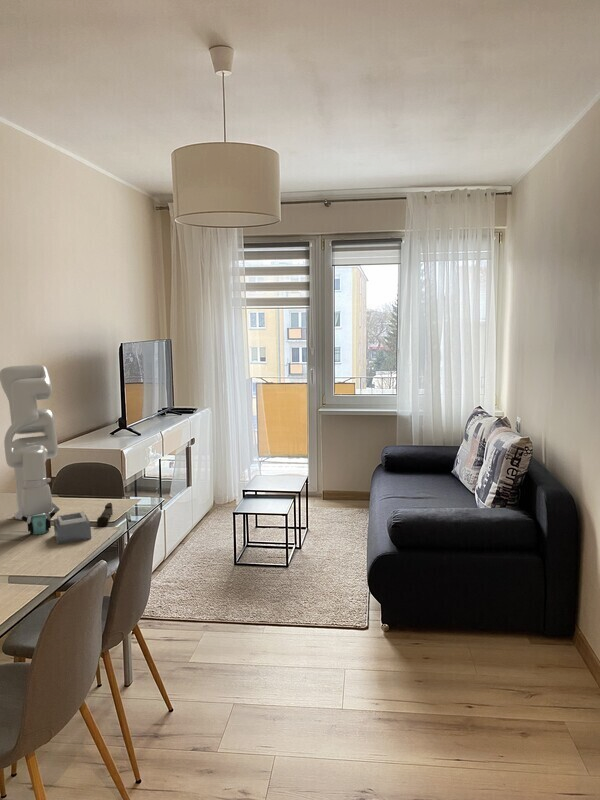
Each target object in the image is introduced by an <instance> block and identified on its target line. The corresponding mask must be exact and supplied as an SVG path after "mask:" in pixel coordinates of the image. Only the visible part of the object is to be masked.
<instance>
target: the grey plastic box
mask: <svg viewBox="0 0 600 800" xmlns="http://www.w3.org/2000/svg"><path fill="white" fill-rule="evenodd" d="M53 529H54V530H53V531H54V537H55V539H56V542H57V544H58V545H62V544H63V543H64V544H68V543H75V542H80V541H81V542H82V541H85V540H86V541H87V540H92V530H91V522H90V520H89V518H88V516H87V515H86V514H85V513H84V512H83V511H79V512H73V513H72V512H70V513H65V514H59V515H58V514H57V515H56V518H55V519H53ZM64 544H63V545H64Z"/></svg>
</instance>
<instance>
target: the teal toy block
mask: <svg viewBox="0 0 600 800" xmlns="http://www.w3.org/2000/svg"><path fill="white" fill-rule="evenodd" d="M31 523H32V530H33V533H32V534H31V535H34V534H39V535H44V534H46V533H48V531H47V526H46V515H44V514H39V515H34V516H32V517H31ZM43 533H44V534H43Z"/></svg>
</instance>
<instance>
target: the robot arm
mask: <svg viewBox="0 0 600 800" xmlns="http://www.w3.org/2000/svg"><path fill="white" fill-rule="evenodd" d="M0 385H1V388H2V390H3V392H4V394H5V395H6V397H7V400H8V404H9V415H10V422H11V424H10V426H9V427H8V429H7V431H6V432H5V436H4V440H3V445H4V453H5V461H6V464H7V466H8V467H10V468H12V469H13V468H14V469H13V470H14V478H15V479H14V481H15V492H16V493H15V494H16V502H17V512H16V513H14V515H13V518H15V520H21V521H23V522H25V523H26V524H27V531H28V532H29V533H30V535H33V534H32V533H33V530H32V523H31V517H32V516H34V515H39V514H44V515H46V526H47V532H50V529H51V525H52V524H51V520H52V519H53V518H54V516H56V514H57V513H58V512H59V511H60V507H59V506H57V505H56V504H55V502H53V497H52V491H51V487H50V484H49V483H51V482H52V478H51V477H47V470H46V467H47V465H46V462H47V460H50V459H54V458H56V457H57V456H58V453H59V447H58V446H59V445H58V437H57V429H56V421H55V416H54V414H53V412H52V410H50V409H48V408H38V403H37V401H38V400H40V401H41V400H48V399H50V398H51V397H52V395H53V386H52V380H51V377H50V374H49V371H48V369H47V367H46V366H45V365H43V364H30V365H13V366H6V367H4V368H2V369H0ZM40 433H41V434H43V435H38V436H26V437H19V438H17V439H14V437H15V435H30V434H32V435H33V434H40ZM13 439H14V440H13Z"/></svg>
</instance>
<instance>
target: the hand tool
mask: <svg viewBox="0 0 600 800" xmlns="http://www.w3.org/2000/svg"><path fill="white" fill-rule="evenodd" d="M111 515H112V516H113V515H114V514H113V504H112V502H108V503H107V504H105V506H104V510H103V511H102V513H101V514H100V516H99V517H97V521H96V523H97V526H98V527H106V526H108V525H109V521H110V519H111V517H112V516H111Z"/></svg>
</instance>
